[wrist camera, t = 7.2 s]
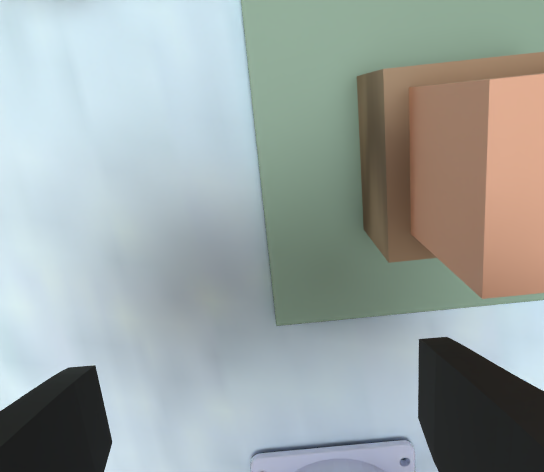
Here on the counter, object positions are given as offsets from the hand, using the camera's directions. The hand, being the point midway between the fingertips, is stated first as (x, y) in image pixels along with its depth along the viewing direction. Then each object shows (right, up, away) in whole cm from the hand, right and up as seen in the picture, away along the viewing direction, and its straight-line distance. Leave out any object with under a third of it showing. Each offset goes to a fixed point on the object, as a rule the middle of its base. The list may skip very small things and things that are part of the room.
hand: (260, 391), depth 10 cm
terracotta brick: (+7, +6, +4) cm, 10 cm away
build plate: (+7, +7, +8) cm, 13 cm away
